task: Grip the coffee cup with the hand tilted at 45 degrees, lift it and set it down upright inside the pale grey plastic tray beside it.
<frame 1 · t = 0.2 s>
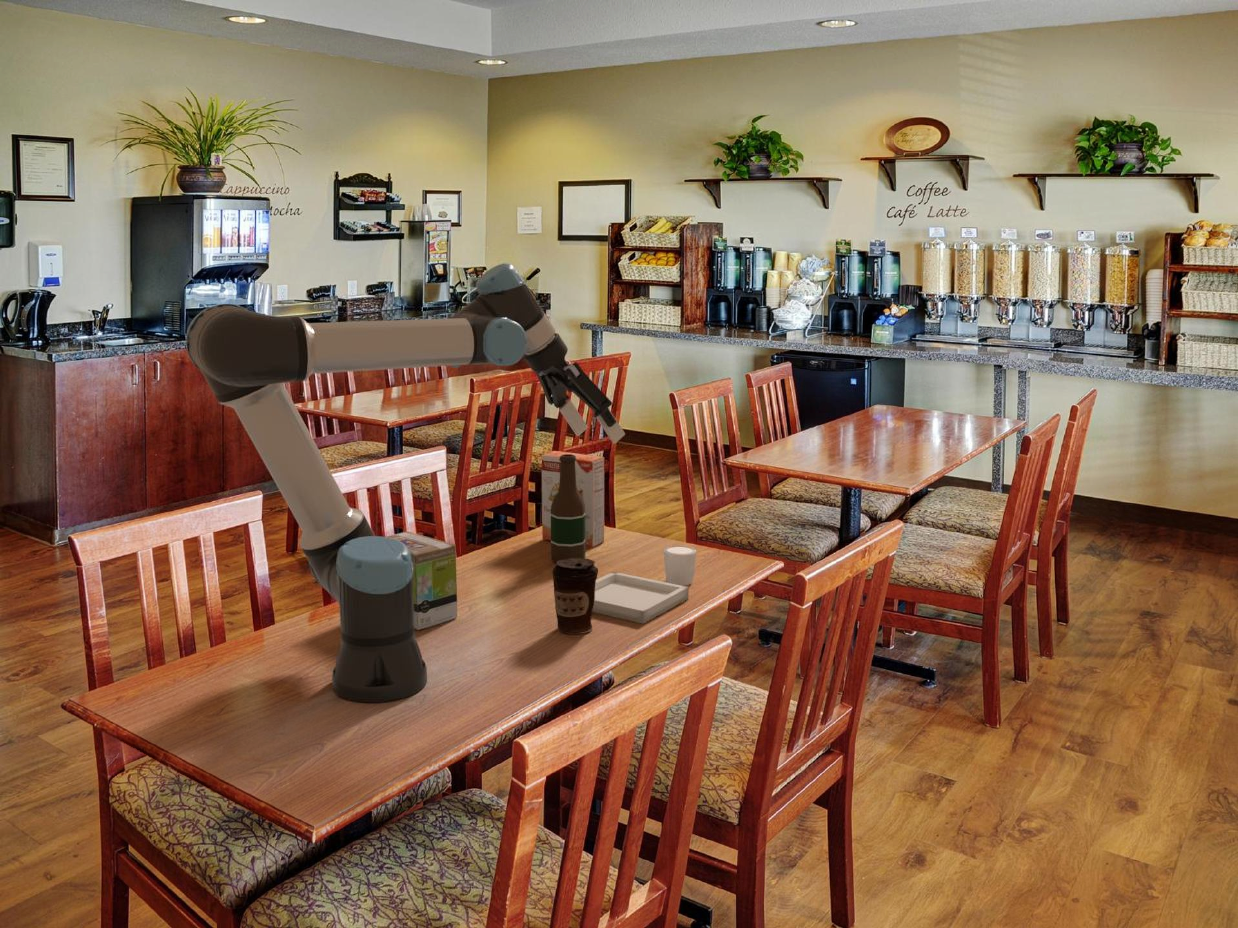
hand: (600, 435, 208), 35 cm above the table, tool tilted 35°, fingers open, 13 cm apart
tray: (627, 602, 222), on the table
tea box: (414, 616, 214), on the table
coffee cup: (575, 630, 207), on the table
cracker box: (573, 542, 264), on the table
shot glass: (679, 582, 235), on the table
beer bottle: (568, 561, 249), on the table
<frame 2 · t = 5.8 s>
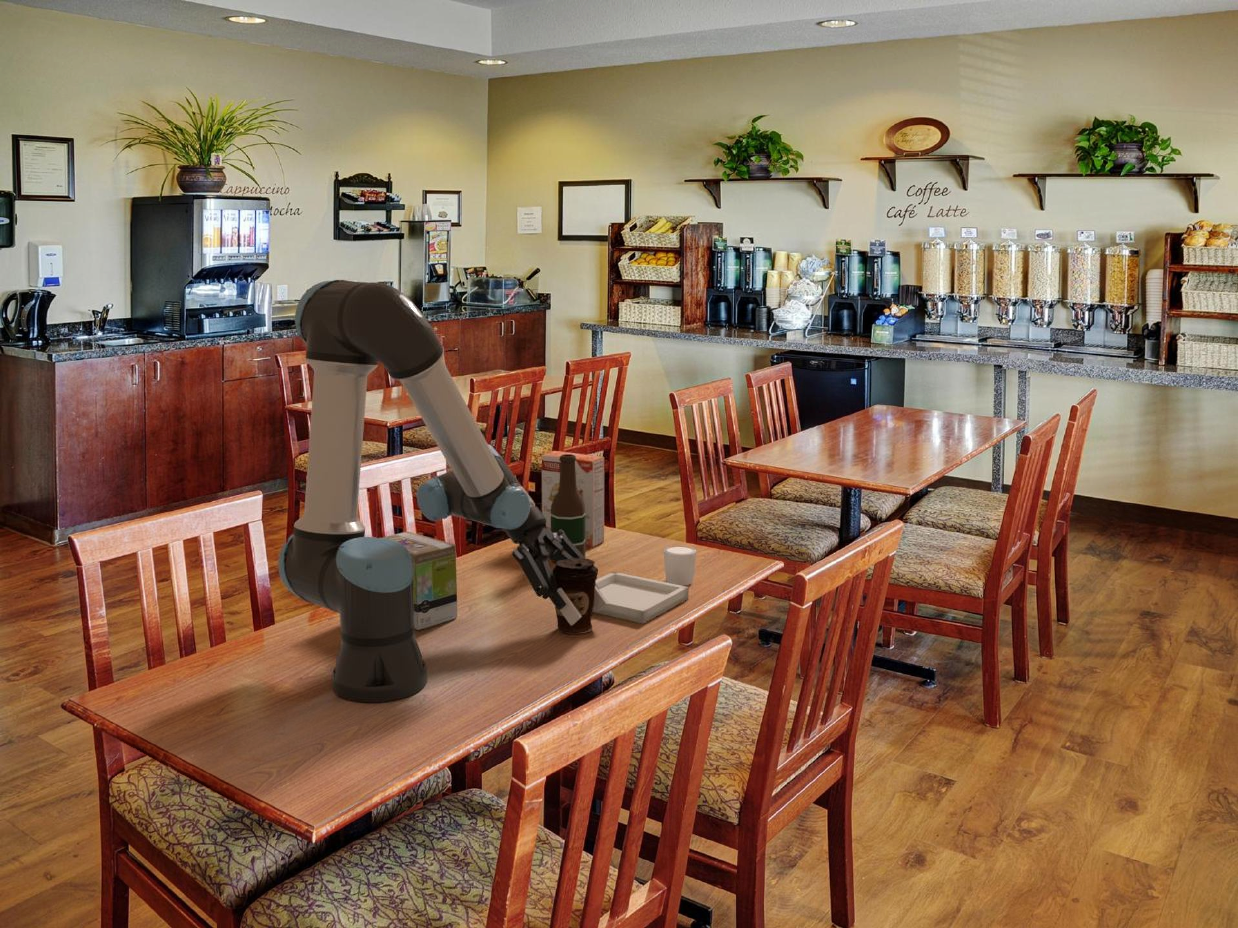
hand: (590, 614, 205), 4 cm above the table, tool tilted 45°, fingers closed on coffee cup, 8 cm apart
coffee cup: (575, 630, 207), on the table, touching gripper
everything else where it was.
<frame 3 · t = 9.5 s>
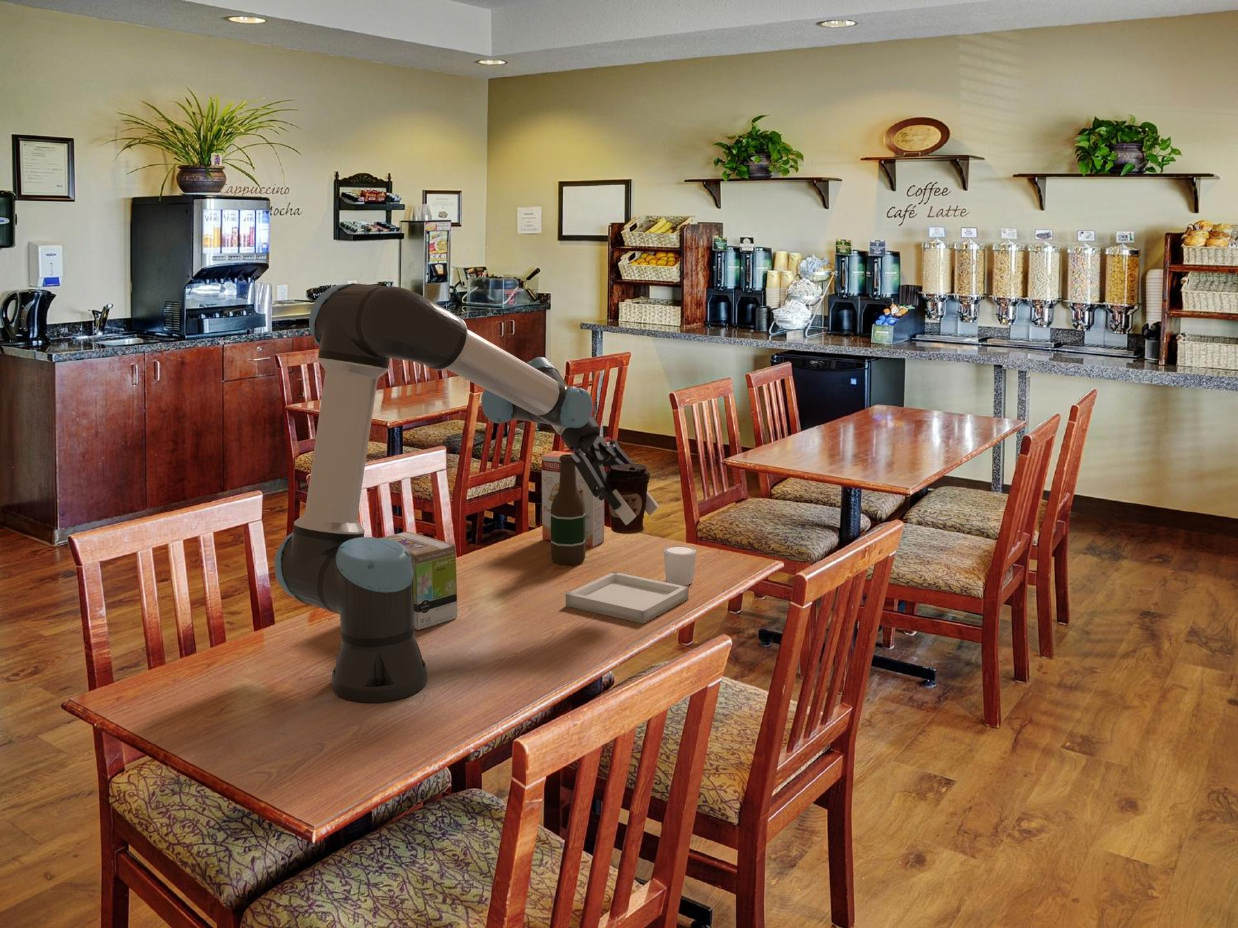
hand: (642, 515, 216), 18 cm above the table, tool tilted 45°, fingers closed on coffee cup, 8 cm apart
coffee cup: (627, 532, 219), point 14 cm above the table, touching gripper
everything else where it was.
when the fingers open (5 cm above the table, at t = 12.9 s): coffee cup stays where it is, resting on tray.
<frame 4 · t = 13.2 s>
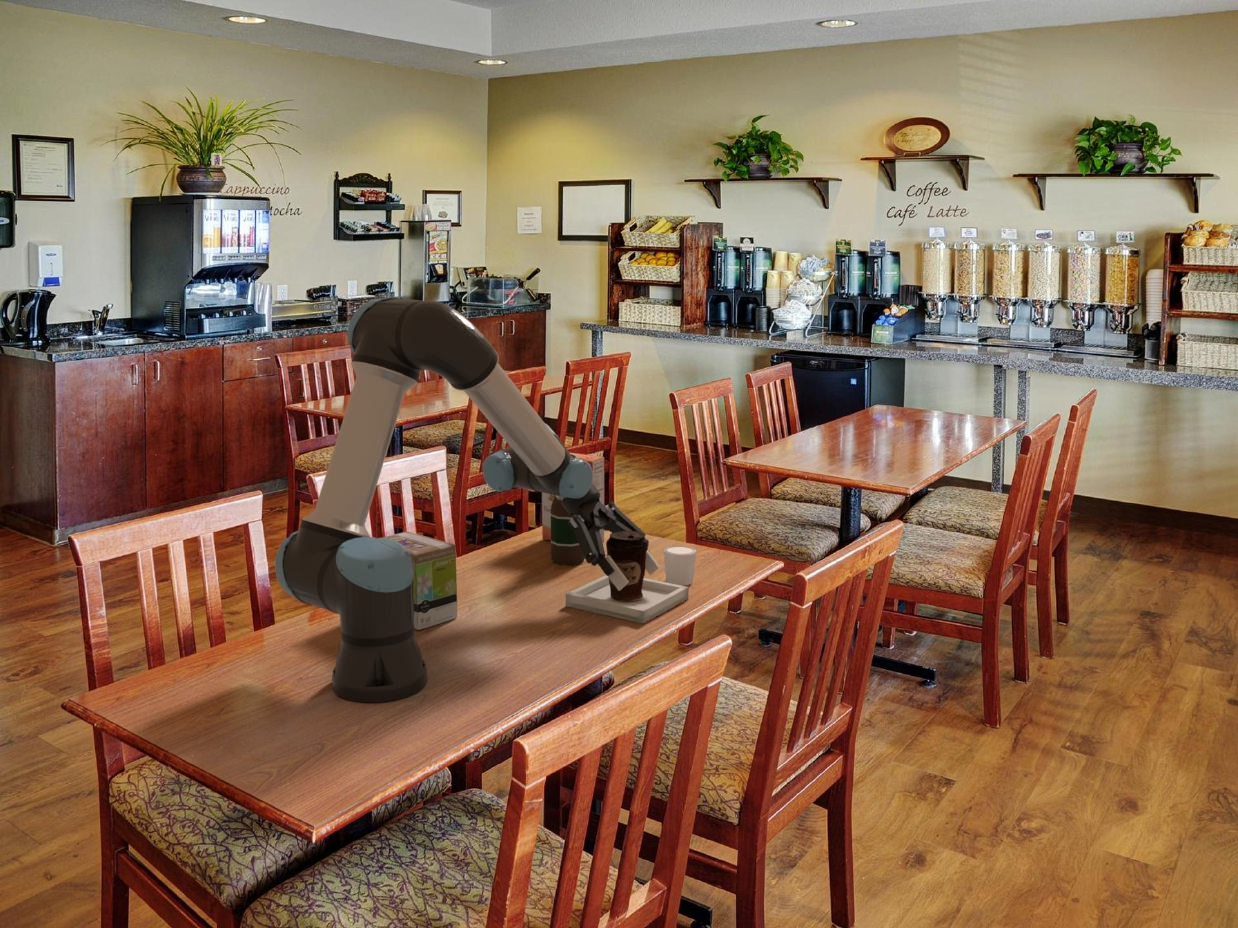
hand: (640, 578, 219), 5 cm above the table, tool tilted 45°, fingers open, 11 cm apart
coffee cup: (626, 598, 222), point 1 cm above the table, touching tray
everything else where it was.
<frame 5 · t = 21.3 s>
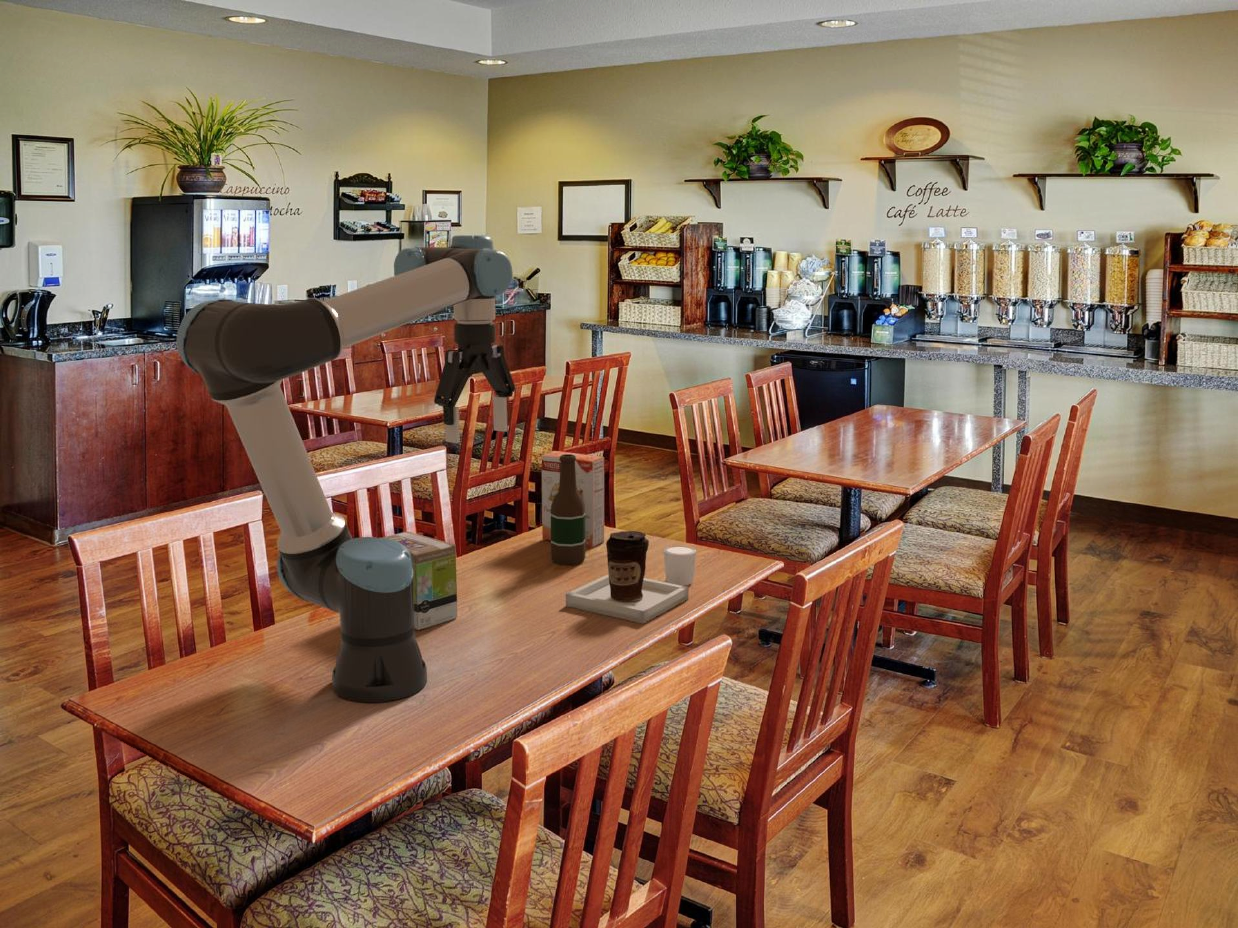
hand: (477, 436, 208), 35 cm above the table, tool pointing down, fingers open, 13 cm apart
nothing on the table moved.
at the end: coffee cup inside the target area on the tray (0.2 cm from its centre), point 0.8 cm above the tray's base; coffee cup tilted 0°; the gripper is holding nothing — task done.
